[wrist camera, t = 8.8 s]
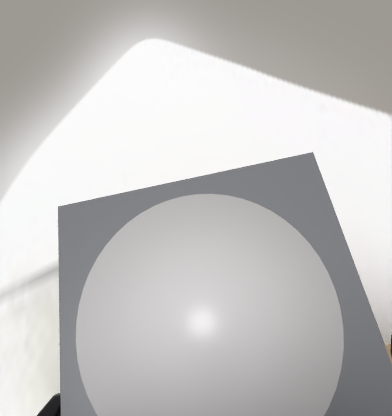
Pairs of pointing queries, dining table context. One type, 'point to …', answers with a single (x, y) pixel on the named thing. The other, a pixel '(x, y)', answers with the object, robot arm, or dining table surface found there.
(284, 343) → the canister
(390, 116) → the dining table surface
